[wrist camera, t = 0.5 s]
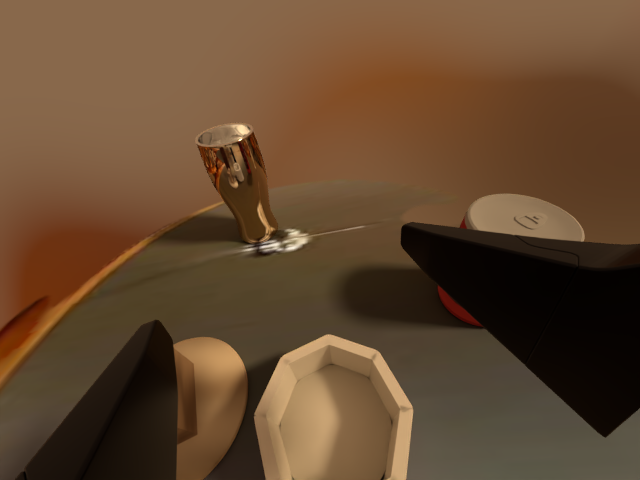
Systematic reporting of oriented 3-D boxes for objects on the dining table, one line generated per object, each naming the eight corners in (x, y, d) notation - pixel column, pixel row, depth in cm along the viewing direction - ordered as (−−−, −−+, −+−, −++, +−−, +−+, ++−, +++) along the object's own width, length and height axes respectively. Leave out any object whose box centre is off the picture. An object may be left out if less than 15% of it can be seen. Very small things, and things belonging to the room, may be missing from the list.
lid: (262, 450, 20) (241, 441, 16) (95, 543, 17) (19, 560, 13) (237, 323, 28) (218, 296, 24) (121, 372, 25) (79, 351, 21)
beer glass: (265, 251, 35) (227, 149, 24) (227, 239, 37) (179, 143, 27) (289, 221, 39) (266, 124, 29) (254, 212, 42) (221, 120, 31)
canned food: (529, 299, 26) (603, 221, 19) (489, 346, 23) (557, 276, 16) (462, 258, 31) (498, 182, 23) (421, 293, 28) (447, 219, 20)
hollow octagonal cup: (427, 467, 18) (446, 463, 14) (299, 555, 16) (284, 574, 12) (358, 343, 25) (359, 319, 21) (262, 391, 22) (245, 373, 19)
